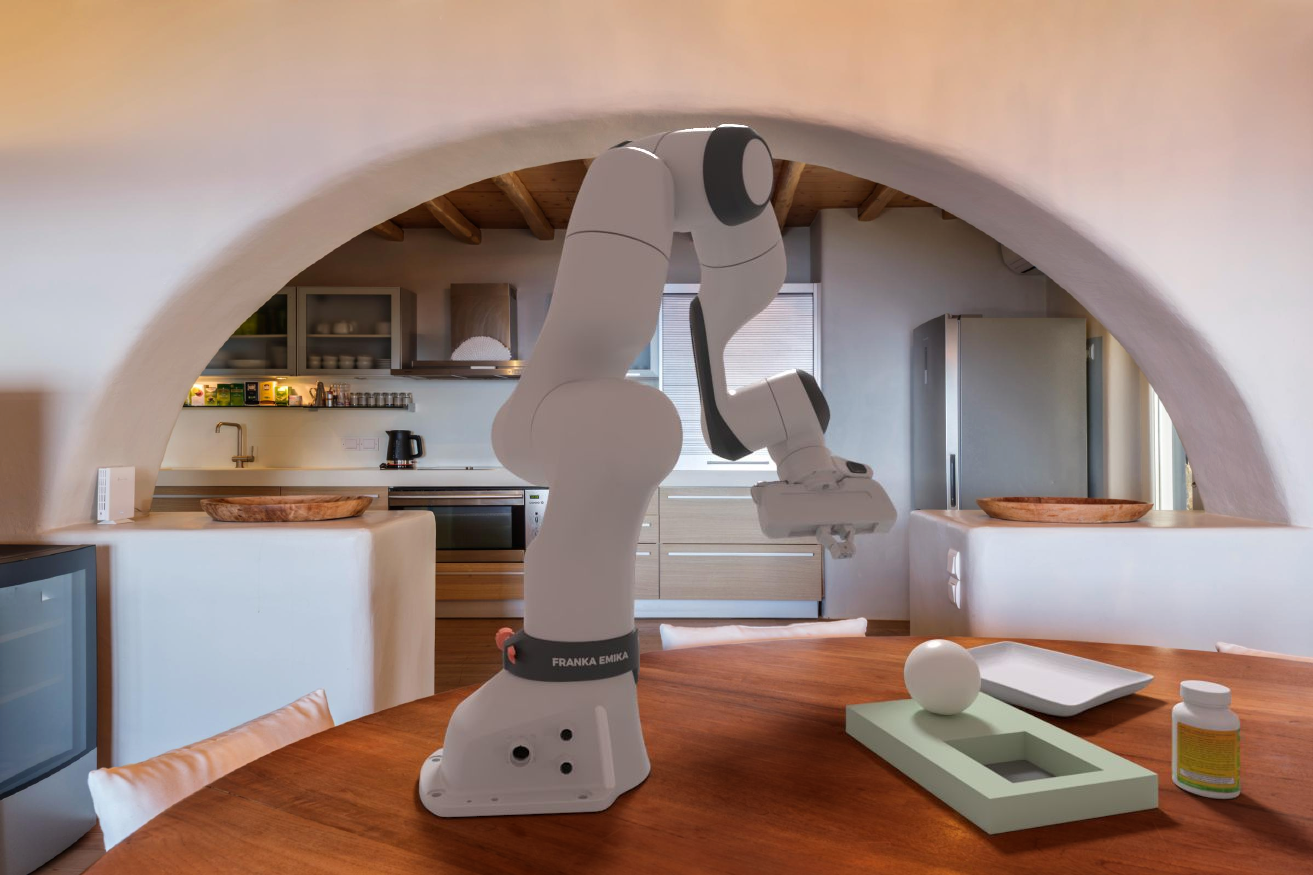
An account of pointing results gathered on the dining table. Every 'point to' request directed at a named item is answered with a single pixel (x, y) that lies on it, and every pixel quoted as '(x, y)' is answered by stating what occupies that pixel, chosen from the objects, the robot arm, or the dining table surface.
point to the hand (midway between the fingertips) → (845, 556)
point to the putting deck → (1002, 764)
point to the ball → (942, 677)
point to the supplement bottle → (1206, 741)
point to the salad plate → (1051, 678)
